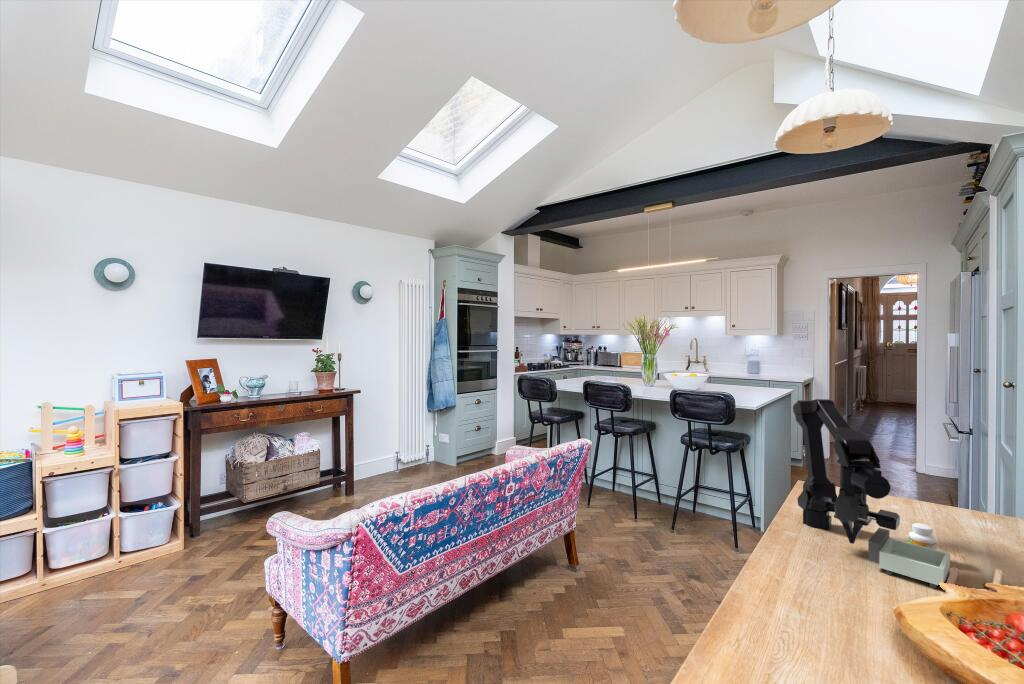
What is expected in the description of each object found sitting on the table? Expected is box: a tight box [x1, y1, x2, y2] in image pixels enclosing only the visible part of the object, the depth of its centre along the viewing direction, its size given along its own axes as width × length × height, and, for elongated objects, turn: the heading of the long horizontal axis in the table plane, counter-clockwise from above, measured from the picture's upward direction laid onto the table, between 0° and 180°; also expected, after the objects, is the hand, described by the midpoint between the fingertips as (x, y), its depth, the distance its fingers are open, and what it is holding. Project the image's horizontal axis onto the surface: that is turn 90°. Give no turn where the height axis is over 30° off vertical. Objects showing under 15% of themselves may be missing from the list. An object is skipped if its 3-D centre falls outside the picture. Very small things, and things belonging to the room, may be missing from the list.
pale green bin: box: [867, 527, 951, 590], centre depth 114 cm, size 14×12×7 cm
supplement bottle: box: [908, 522, 937, 550], centre depth 121 cm, size 5×5×10 cm
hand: (852, 543), depth 123 cm, fingers closed
